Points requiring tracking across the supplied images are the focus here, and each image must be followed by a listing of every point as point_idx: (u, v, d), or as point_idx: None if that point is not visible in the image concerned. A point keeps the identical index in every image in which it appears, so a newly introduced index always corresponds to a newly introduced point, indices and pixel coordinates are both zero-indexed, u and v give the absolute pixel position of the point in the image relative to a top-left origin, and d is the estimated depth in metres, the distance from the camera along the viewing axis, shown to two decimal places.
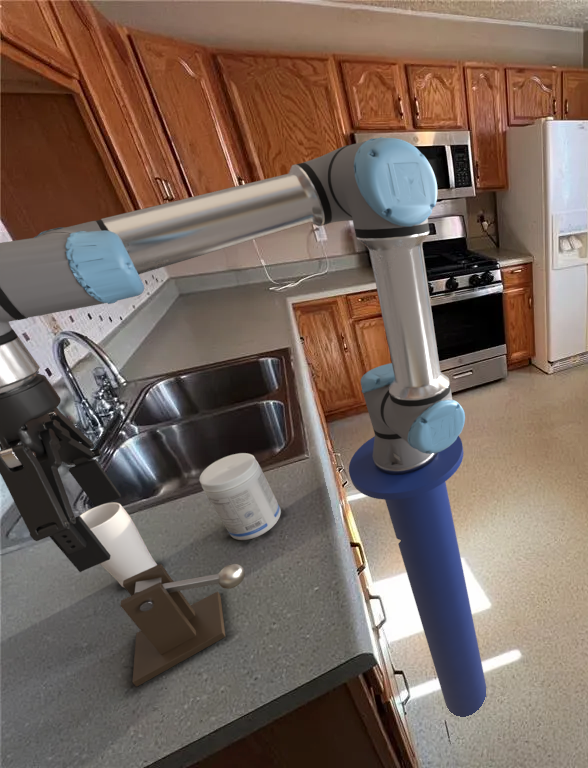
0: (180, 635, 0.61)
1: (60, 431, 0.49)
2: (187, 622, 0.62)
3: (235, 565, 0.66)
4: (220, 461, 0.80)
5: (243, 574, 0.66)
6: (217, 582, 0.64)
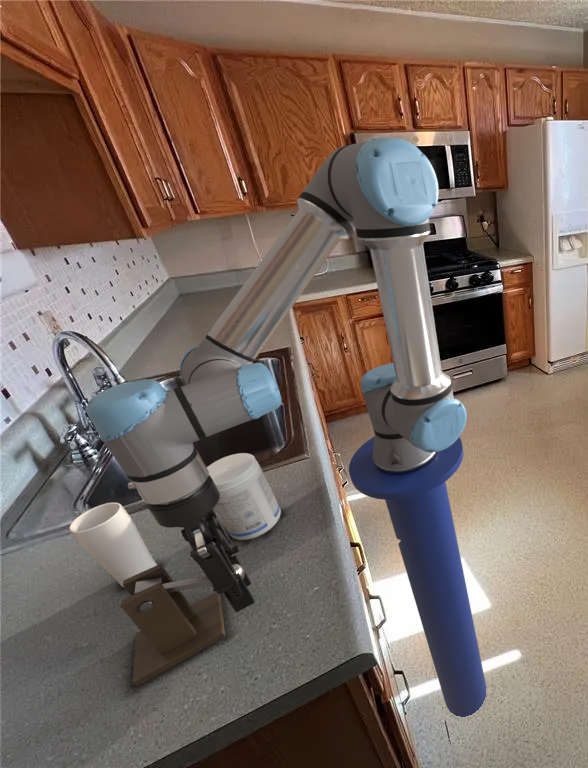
0: (180, 635, 0.61)
1: (215, 516, 0.62)
2: (187, 622, 0.62)
3: (235, 565, 0.66)
4: (220, 461, 0.80)
5: (243, 574, 0.66)
6: None
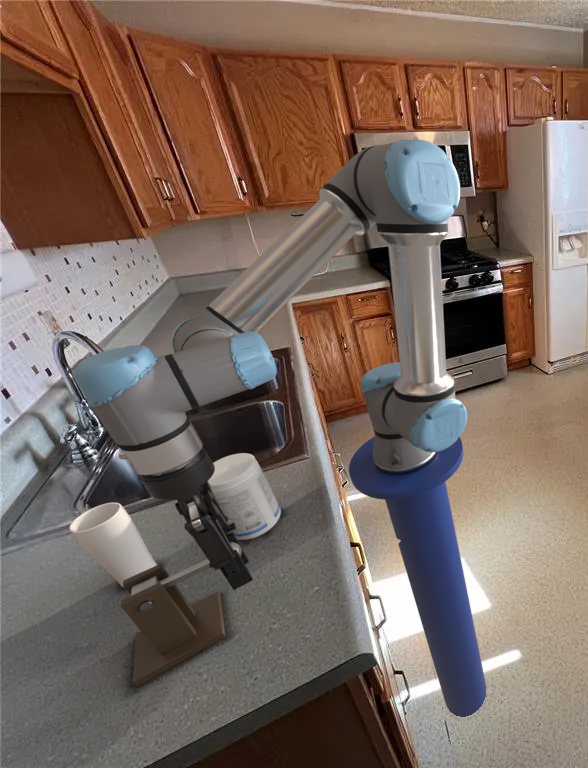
0: (180, 635, 0.61)
1: (210, 491, 0.60)
2: (187, 622, 0.62)
3: None
4: (220, 461, 0.80)
5: (238, 550, 0.64)
6: None
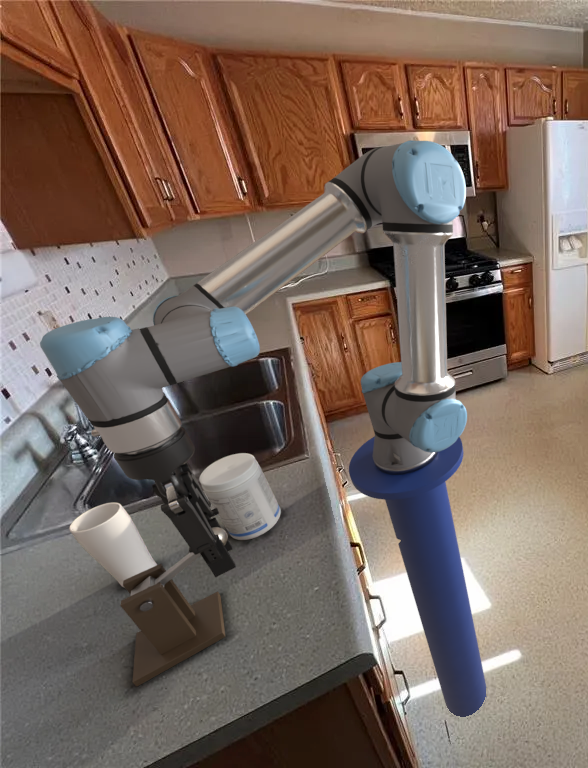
0: (180, 635, 0.61)
1: (190, 473, 0.58)
2: (187, 622, 0.62)
3: None
4: (220, 461, 0.80)
5: (220, 533, 0.62)
6: None
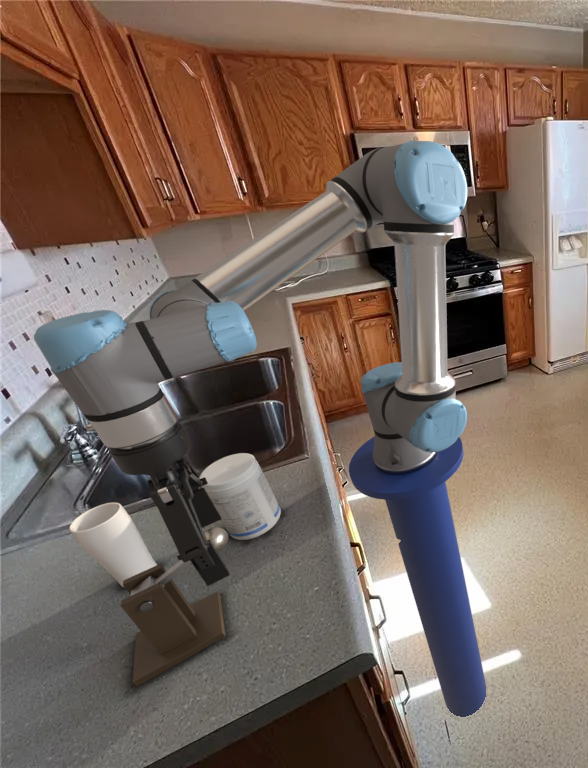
0: (180, 635, 0.61)
1: (187, 467, 0.58)
2: (187, 622, 0.62)
3: (207, 531, 0.61)
4: (220, 461, 0.80)
5: (221, 534, 0.62)
6: None
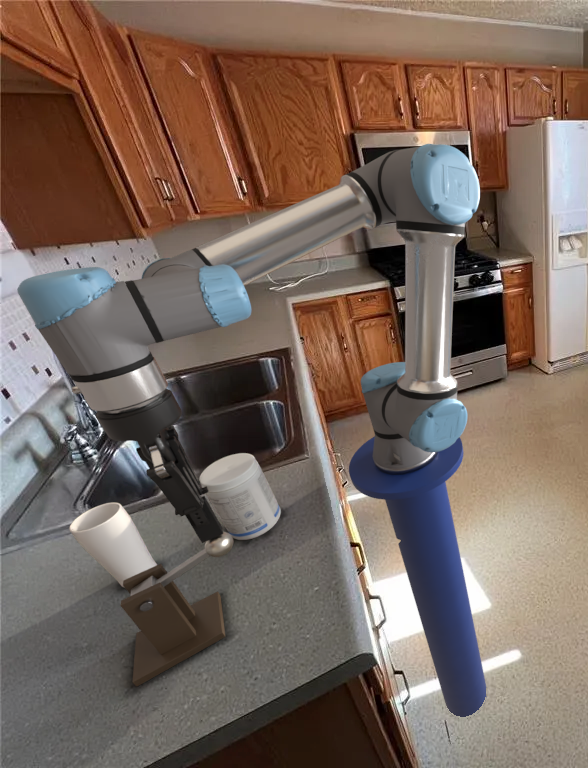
0: (180, 635, 0.61)
1: (177, 439, 0.56)
2: (187, 622, 0.62)
3: None
4: (220, 461, 0.80)
5: (227, 538, 0.63)
6: (208, 555, 0.62)
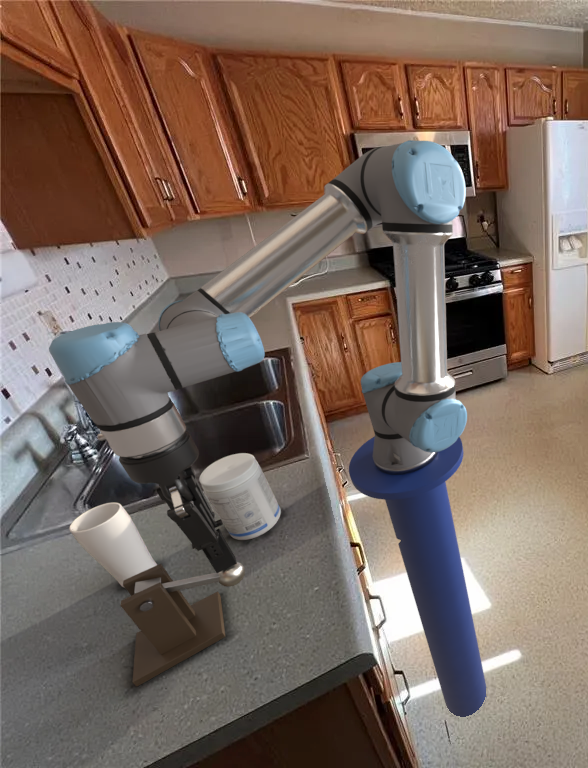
0: (180, 635, 0.61)
1: (194, 476, 0.58)
2: (187, 622, 0.62)
3: None
4: (220, 461, 0.80)
5: (243, 572, 0.66)
6: (217, 580, 0.64)
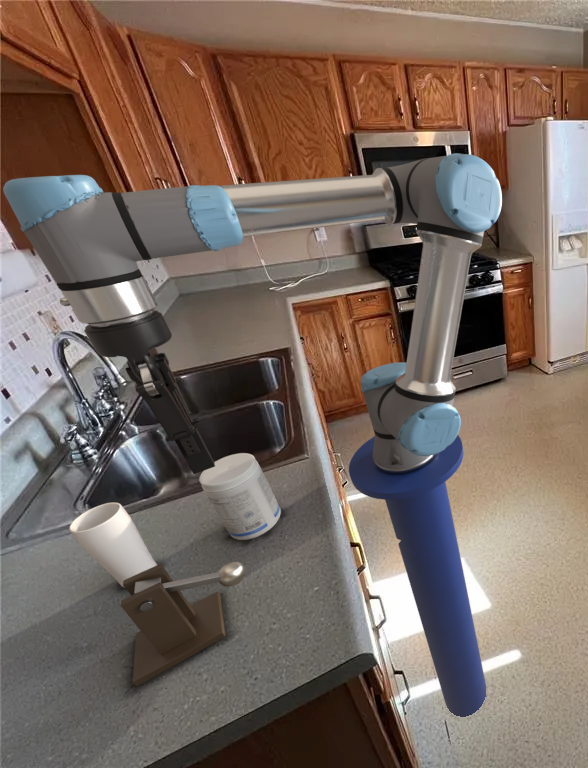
0: (180, 635, 0.61)
1: (167, 363, 0.55)
2: (187, 622, 0.62)
3: (235, 563, 0.66)
4: (220, 461, 0.80)
5: (243, 572, 0.66)
6: (217, 580, 0.64)
